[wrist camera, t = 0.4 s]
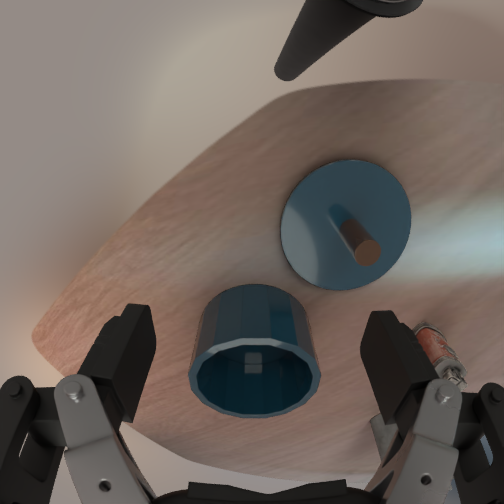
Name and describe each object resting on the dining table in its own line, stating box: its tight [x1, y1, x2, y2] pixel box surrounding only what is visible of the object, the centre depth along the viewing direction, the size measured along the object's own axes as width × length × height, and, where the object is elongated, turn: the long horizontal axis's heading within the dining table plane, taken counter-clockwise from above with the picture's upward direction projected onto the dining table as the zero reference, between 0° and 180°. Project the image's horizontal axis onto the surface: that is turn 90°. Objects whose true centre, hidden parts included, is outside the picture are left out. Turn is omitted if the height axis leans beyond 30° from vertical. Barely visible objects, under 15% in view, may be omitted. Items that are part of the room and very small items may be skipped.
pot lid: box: [280, 159, 411, 290], centre depth 26 cm, size 14×14×6 cm
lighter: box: [413, 322, 468, 391], centre depth 31 cm, size 8×3×10 cm, turn 56°
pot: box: [188, 284, 321, 418], centre depth 30 cm, size 13×13×8 cm
